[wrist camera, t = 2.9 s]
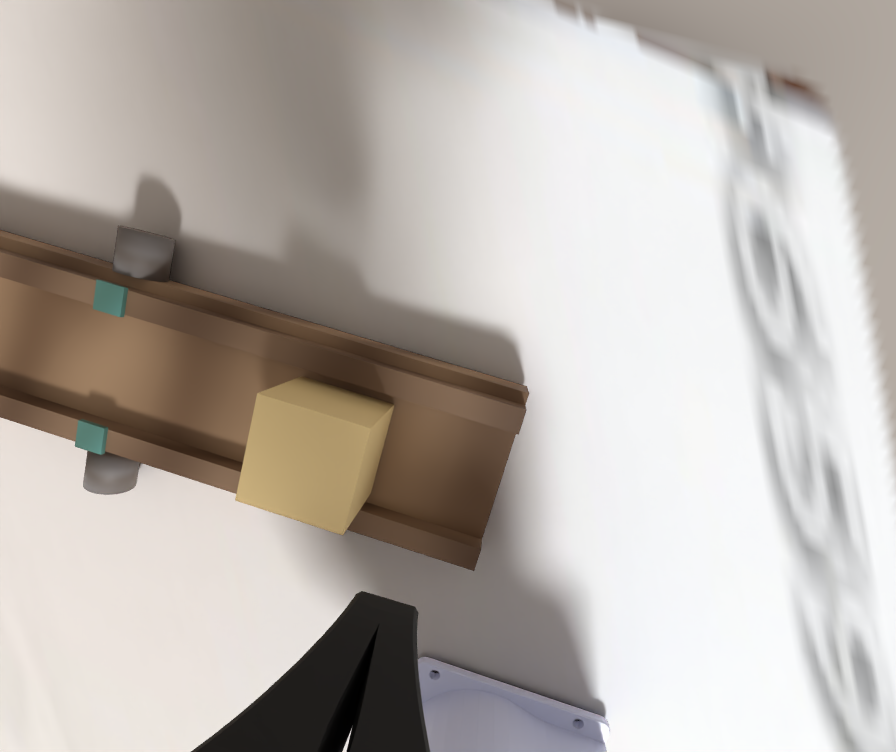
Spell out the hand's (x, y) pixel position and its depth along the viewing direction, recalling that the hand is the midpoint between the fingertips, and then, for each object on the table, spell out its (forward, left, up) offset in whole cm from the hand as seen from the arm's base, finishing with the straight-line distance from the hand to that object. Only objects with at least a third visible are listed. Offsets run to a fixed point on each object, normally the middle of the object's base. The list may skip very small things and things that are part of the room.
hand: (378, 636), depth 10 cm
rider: (+4, -1, -9) cm, 10 cm away
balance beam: (+10, -1, -11) cm, 15 cm away
